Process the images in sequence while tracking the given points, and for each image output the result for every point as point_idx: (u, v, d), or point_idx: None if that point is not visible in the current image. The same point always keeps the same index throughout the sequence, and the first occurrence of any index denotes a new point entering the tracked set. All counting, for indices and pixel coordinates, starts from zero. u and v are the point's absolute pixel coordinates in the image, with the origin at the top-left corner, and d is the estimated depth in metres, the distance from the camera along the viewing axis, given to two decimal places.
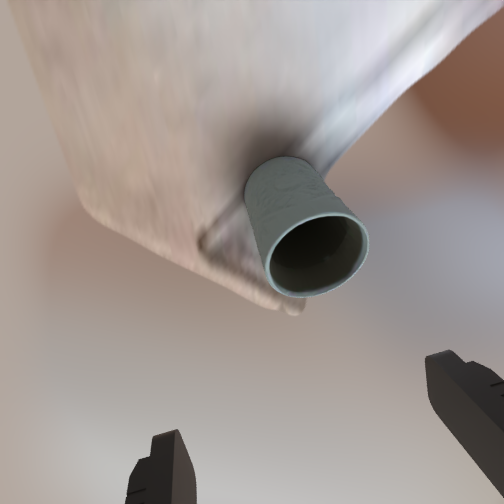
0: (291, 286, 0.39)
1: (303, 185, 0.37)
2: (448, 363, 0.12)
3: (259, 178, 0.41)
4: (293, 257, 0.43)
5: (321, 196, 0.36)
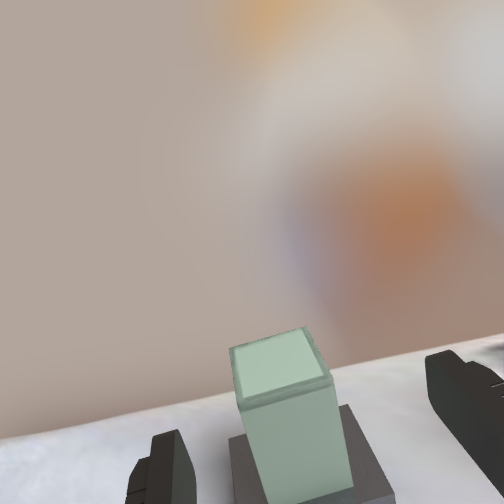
0: None
1: None
2: (448, 363, 0.12)
3: None
4: None
5: None
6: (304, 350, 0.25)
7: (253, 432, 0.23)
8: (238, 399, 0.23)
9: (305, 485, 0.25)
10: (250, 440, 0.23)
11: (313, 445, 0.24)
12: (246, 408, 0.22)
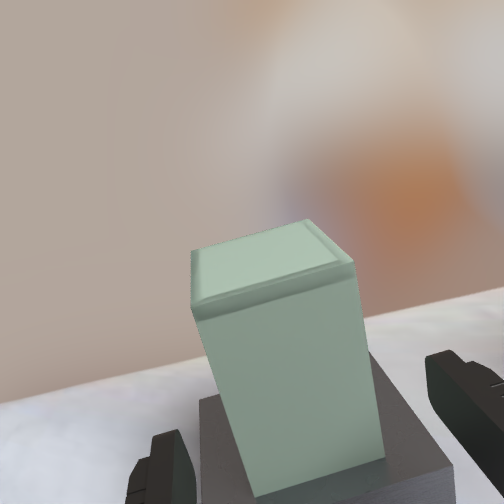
0: None
1: None
2: (448, 363, 0.12)
3: None
4: None
5: None
6: (304, 239, 0.16)
7: (221, 359, 0.14)
8: (193, 301, 0.13)
9: (309, 454, 0.16)
10: (216, 374, 0.14)
11: (321, 385, 0.15)
12: (206, 314, 0.13)
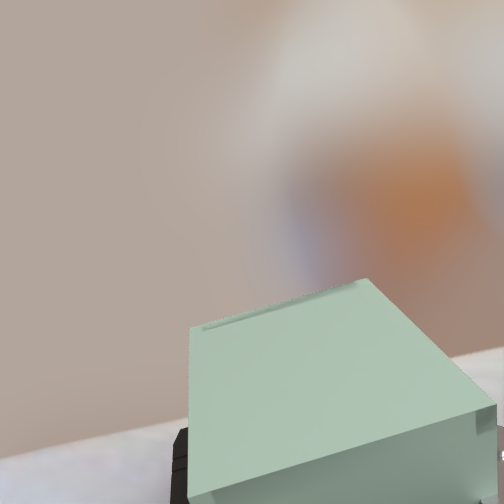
0: None
1: None
2: None
3: None
4: None
5: None
6: (374, 327, 0.10)
7: None
8: (193, 475, 0.07)
9: None
10: None
11: None
12: None
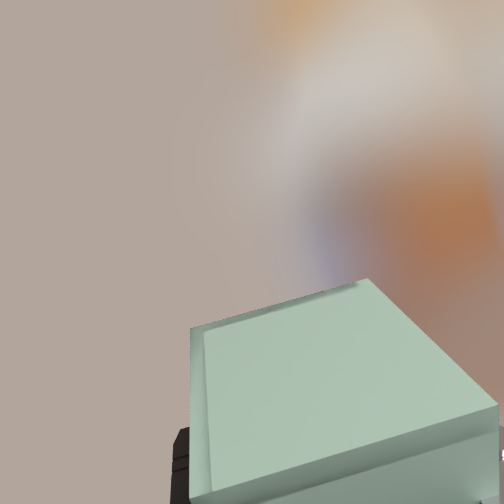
0: None
1: None
2: None
3: None
4: None
5: None
6: (375, 327, 0.10)
7: None
8: (195, 476, 0.07)
9: None
10: None
11: None
12: None
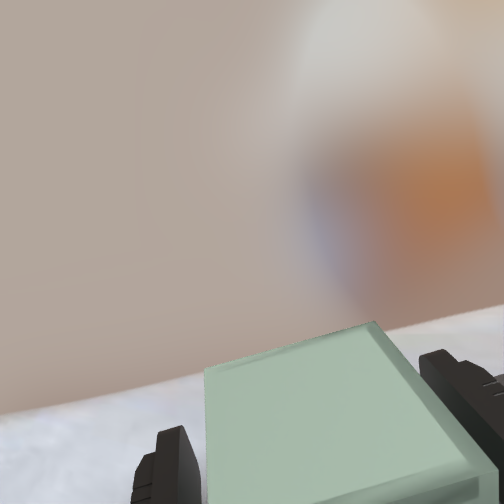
0: None
1: None
2: (441, 362, 0.12)
3: None
4: None
5: None
6: (383, 377, 0.10)
7: None
8: None
9: None
10: None
11: None
12: None
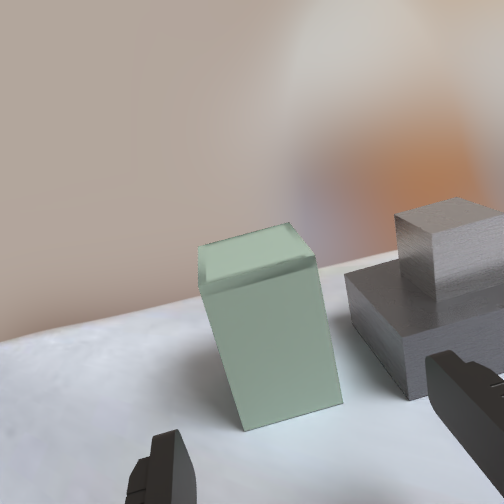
0: None
1: None
2: (448, 363, 0.12)
3: None
4: None
5: None
6: (283, 238, 0.21)
7: (219, 324, 0.19)
8: (200, 282, 0.19)
9: (285, 398, 0.21)
10: (216, 335, 0.19)
11: (293, 346, 0.20)
12: (209, 291, 0.19)
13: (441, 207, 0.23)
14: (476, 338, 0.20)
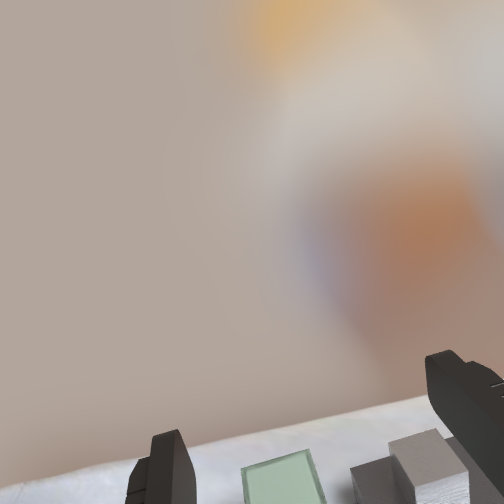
0: None
1: None
2: (448, 363, 0.11)
3: None
4: None
5: None
6: (306, 479, 0.29)
7: None
8: None
9: None
10: None
11: None
12: None
13: (423, 442, 0.31)
14: None
